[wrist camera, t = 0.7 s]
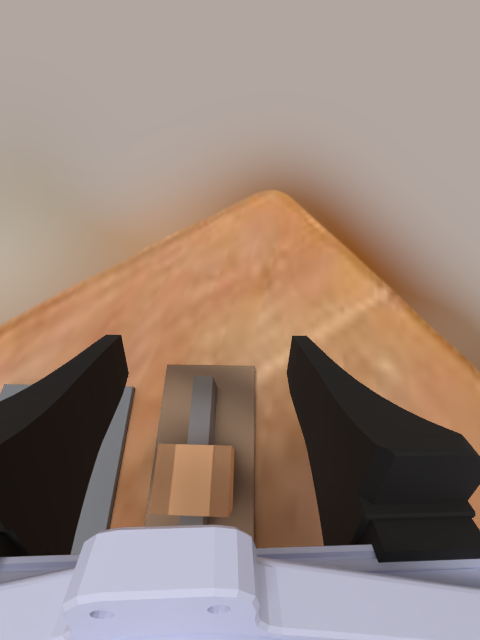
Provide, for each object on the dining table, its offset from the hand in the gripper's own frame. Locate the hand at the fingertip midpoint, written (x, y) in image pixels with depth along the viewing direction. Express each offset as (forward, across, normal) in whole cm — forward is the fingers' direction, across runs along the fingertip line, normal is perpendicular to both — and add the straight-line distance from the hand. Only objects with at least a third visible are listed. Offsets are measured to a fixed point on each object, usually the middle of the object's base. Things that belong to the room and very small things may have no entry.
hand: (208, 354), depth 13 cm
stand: (+4, +1, +15) cm, 16 cm away
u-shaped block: (+3, +1, +14) cm, 15 cm away
